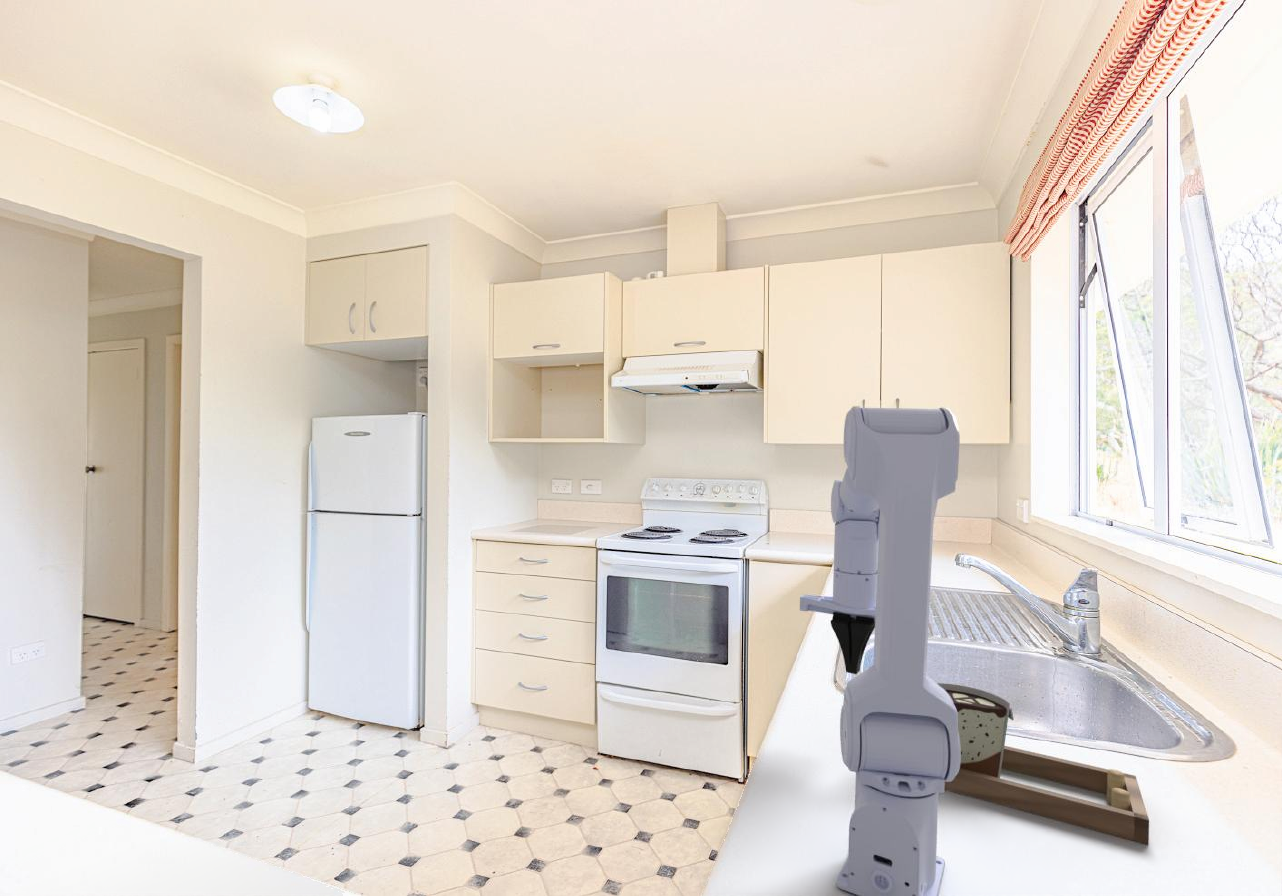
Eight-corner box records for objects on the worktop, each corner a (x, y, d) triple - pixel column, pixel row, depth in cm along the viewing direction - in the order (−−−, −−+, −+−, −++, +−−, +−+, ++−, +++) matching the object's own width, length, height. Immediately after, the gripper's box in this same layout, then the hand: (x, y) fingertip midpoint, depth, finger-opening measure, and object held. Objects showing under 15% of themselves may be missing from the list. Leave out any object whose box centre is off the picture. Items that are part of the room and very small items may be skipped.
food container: (989, 762, 84) (991, 684, 84) (1012, 786, 78) (1014, 703, 78) (890, 755, 85) (893, 678, 85) (905, 778, 79) (907, 696, 79)
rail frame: (1148, 844, 66) (1149, 810, 66) (933, 786, 77) (934, 757, 77) (1135, 797, 76) (1135, 767, 76) (945, 751, 86) (946, 724, 86)
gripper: (918, 572, 87) (915, 673, 87) (811, 560, 95) (808, 653, 95) (909, 581, 81) (906, 689, 81) (795, 567, 89) (793, 666, 89)
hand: (852, 671), depth 88 cm, fingers closed
